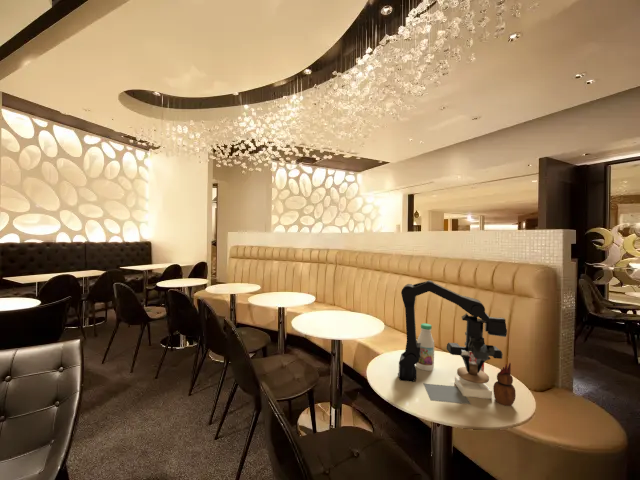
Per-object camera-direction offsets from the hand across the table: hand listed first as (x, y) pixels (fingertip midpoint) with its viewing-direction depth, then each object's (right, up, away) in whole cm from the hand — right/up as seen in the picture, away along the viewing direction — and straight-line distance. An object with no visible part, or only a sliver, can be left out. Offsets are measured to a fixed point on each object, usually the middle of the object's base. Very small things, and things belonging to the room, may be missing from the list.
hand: (472, 372), depth 113 cm
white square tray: (0, -8, 0) cm, 8 cm away
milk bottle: (-12, -7, +20) cm, 24 cm away
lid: (0, -2, 0) cm, 2 cm away
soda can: (+8, -8, +13) cm, 17 cm away
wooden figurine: (+8, -9, -7) cm, 13 cm away
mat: (-12, -8, -2) cm, 14 cm away
